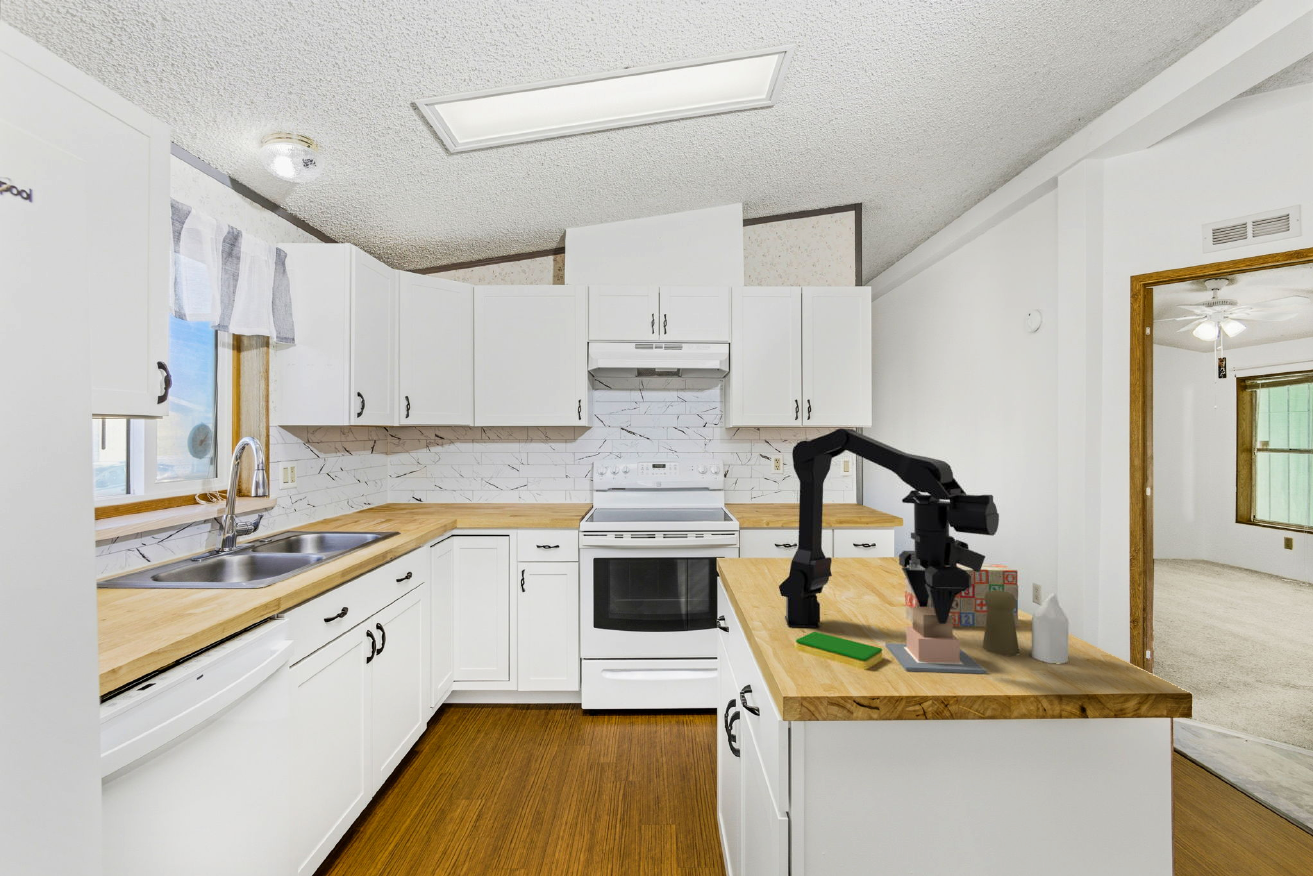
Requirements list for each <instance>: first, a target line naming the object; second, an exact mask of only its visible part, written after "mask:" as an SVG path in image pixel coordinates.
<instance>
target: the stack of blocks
mask: <svg viewBox="0 0 1313 876" xmlns="http://www.w3.org/2000/svg"><path fill="white" fill-rule="evenodd" d="M957 567H959V568H961V569H963V570H965V571H966V572H967V573H968V574H969V575H970V576H971V588H967V590H966V591H962V592H960V593H959V594H958V595H956V597H955V599H954V601H953V604H952V607H951V610H950V614H951V615H952V623H953V627H985V626H986V619H987V611H988V607H987V606H986V604H985V594H986V593H987V592H988V591H992V590H1000V591H1005V592H1009V593H1011V594H1013V595H1014V596H1015V598H1016V608H1015V609H1014V610H1013V614H1014V621H1015V627H1016V628H1018V626H1019V600H1018V599H1019V584H1018V581H1019V580H1018V575H1019V574H1018V570H1017V569H1015V568H1013V567H1010V566H1007V565H1005V564H1004V565H1003V564H988V563H983V564H982V567H981V570H980V572H976V571H973V569H971V568H968V567H965V566H963V565H960V564H957ZM904 593H905V594H904V597H905V600H904V601H905V618H906V619H908V620H909V621H910V622H911V623H913V607H920V606H919V604H918V602H917V599H916V597H915V595H914V593H913V591H912V588H911V586H910V584H909V582H908V580H907V578H906V577H905V591H904ZM927 607H933V606H932V603H931V600H930V597H929V598H928V604H927Z"/></svg>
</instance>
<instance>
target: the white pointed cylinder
mask: <svg viewBox="0 0 1313 876" xmlns="http://www.w3.org/2000/svg"><path fill="white" fill-rule="evenodd" d="M1069 623H1070V622H1069V618H1068V617H1067V615H1066V614H1065V612H1064V610H1063V608H1062V607H1061V606H1060V602H1059V599H1058V596H1057V595H1056V593H1055V592H1052V593H1051V594H1050V595H1049V596H1048V597H1047V598H1046V600H1045V601H1044V602H1043V603H1042V604H1041V606H1040V607H1039V608H1038V609H1037V610H1036V612H1035V613H1033V615H1032V617H1031V657H1032V658H1034V659H1036V660H1038V661H1040V662H1043V661H1044V662H1043V663H1046V662H1047V663H1048V664H1051V663H1056V664H1055V665H1058V664H1057V663H1064V664H1066V663H1067V662H1068V661H1069V660H1068V659H1069V658H1068V656H1069V640H1070V639H1069V636H1070V635H1069V629H1070V628H1069V626H1070V625H1069ZM1065 662H1066V663H1065Z"/></svg>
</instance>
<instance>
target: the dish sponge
mask: <svg viewBox="0 0 1313 876" xmlns="http://www.w3.org/2000/svg"><path fill="white" fill-rule="evenodd" d="M795 650H796V652H797V651H798V652H801V653H804V654H807V655H808V654H809V655H811V656H815V657H818V658H822V659H825V658H826V659H825V660H829V661H832V662H835V661H837V662H836V663H839V664H842V663H844V664H843V665H846V664H847V666H849V665H850V667H852V668H856V667H857V669H860V670H863V669H864V670H868V669H870V668H871V667H873V666H875V665H876V664H878V663H879V662H881V661H882V660H883V649H882V648H881V647H879V646H873V645H869V644H865V643H862V642H858V641H853V640H850V639H846V638H842V637H840V636H839V637H838V636H834V635H830V634H828V633H827V634H826V633H823V632H819V631H812V632H810V633H808V634H805V635H803V636H801V637H798V638H797V639H795Z"/></svg>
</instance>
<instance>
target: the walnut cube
mask: <svg viewBox="0 0 1313 876" xmlns="http://www.w3.org/2000/svg"><path fill="white" fill-rule="evenodd" d="M912 627H913V629H914V630H915V631H917V632H918V633H919V634H920V635H921V636H922V637H930V638H953V635H954V634H953V633H954V631H953V630H954V628H953V627H954V626H953V623H952V615H951V614H950V613H949V616H948V619H947V622H946V624H940V623H939V622H938V619H937V617H936V614H935V611H934V608H933V607H913V622H912Z"/></svg>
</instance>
